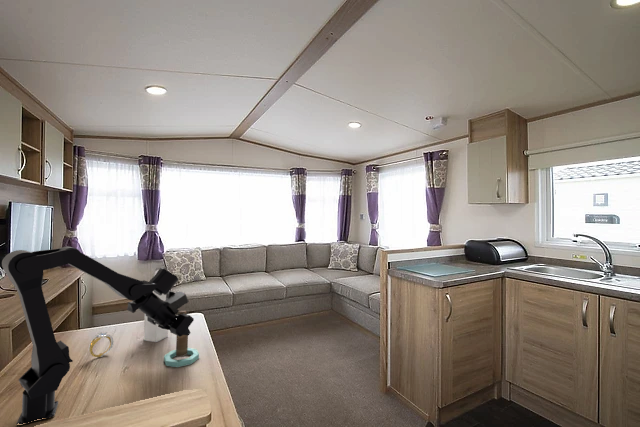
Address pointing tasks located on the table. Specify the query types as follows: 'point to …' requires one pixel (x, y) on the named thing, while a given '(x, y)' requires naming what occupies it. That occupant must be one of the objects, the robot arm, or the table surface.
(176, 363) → the teal faceted ring
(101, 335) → the ring
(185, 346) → the brown peg
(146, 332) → the milk
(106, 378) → the table surface
